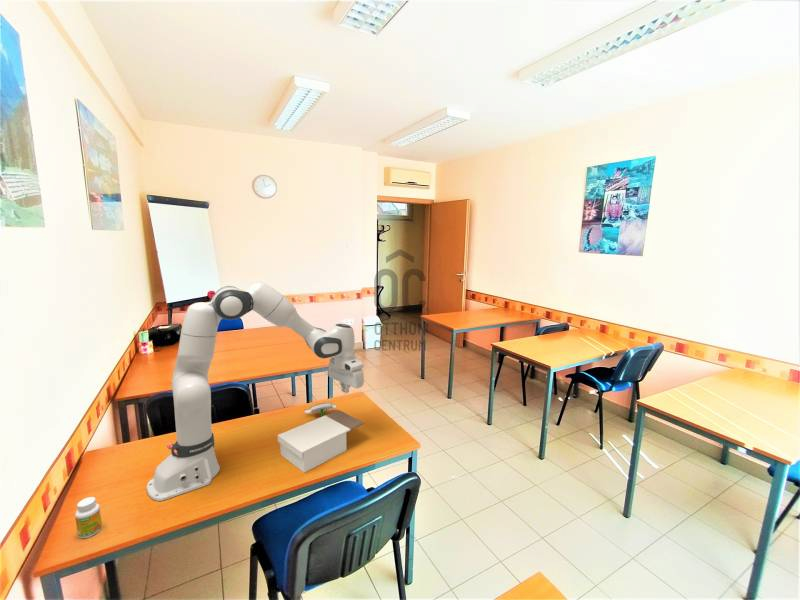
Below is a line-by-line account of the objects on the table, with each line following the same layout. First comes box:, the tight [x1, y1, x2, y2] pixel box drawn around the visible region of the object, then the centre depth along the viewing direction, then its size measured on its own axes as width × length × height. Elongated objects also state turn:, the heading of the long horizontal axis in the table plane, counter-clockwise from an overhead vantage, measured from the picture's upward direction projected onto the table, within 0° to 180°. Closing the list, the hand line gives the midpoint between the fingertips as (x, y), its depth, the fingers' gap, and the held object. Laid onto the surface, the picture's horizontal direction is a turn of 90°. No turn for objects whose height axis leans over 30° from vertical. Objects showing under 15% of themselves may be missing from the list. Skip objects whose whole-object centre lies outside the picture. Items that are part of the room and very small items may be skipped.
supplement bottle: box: [74, 496, 103, 539], centre depth 104 cm, size 5×5×10 cm
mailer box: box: [279, 432, 348, 473], centre depth 144 cm, size 20×17×8 cm
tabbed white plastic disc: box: [304, 401, 337, 417], centre depth 175 cm, size 15×8×11 cm
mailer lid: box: [277, 409, 365, 459], centre depth 147 cm, size 30×17×3 cm, turn 138°
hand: (345, 391), depth 154 cm, fingers closed
